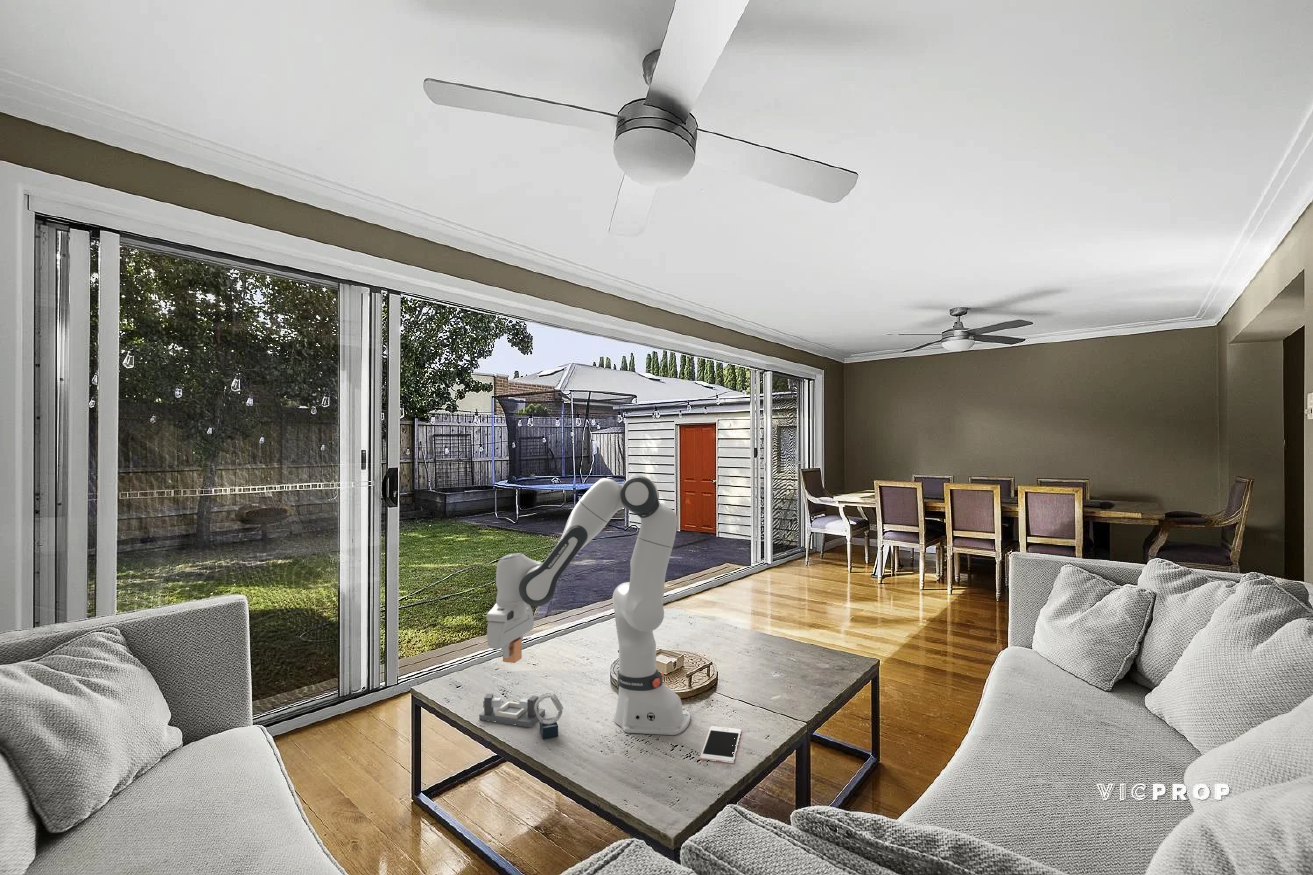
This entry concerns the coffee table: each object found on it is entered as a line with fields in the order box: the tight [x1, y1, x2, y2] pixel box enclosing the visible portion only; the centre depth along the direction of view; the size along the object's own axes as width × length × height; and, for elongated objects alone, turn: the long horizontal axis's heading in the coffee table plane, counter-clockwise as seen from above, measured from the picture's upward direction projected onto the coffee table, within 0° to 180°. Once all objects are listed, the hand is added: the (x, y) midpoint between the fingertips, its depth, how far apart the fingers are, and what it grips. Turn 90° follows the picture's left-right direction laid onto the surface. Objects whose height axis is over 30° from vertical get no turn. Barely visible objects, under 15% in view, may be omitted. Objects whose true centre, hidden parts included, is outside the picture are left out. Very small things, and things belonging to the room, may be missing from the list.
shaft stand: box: [478, 693, 546, 728], centre depth 184 cm, size 17×9×6 cm, turn 72°
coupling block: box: [502, 638, 523, 664], centre depth 184 cm, size 4×4×6 cm
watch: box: [534, 692, 564, 740], centre depth 173 cm, size 6×8×11 cm
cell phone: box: [699, 725, 742, 762], centre depth 166 cm, size 9×18×1 cm, turn 166°
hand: (512, 653), depth 184 cm, fingers closed on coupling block, 4 cm apart
